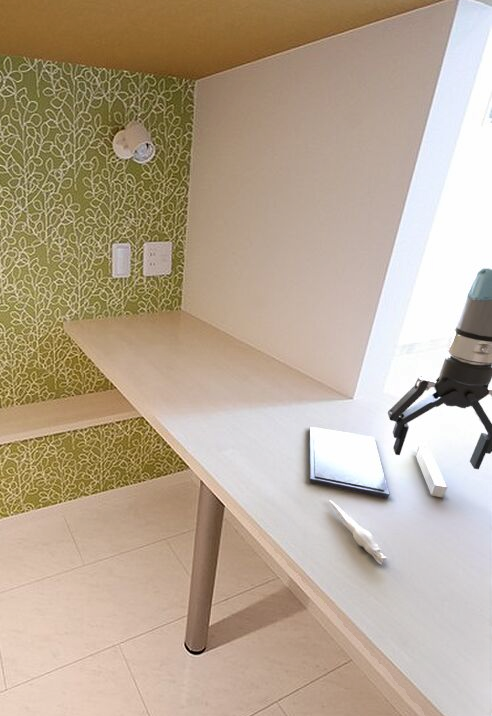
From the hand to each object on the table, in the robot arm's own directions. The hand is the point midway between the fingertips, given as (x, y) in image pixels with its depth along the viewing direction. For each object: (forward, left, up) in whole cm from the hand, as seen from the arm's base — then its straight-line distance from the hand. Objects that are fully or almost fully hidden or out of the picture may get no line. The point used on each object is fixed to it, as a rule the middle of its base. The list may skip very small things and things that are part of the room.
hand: (434, 458), depth 86 cm
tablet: (+16, 0, -4) cm, 16 cm away
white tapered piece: (+16, +23, -4) cm, 28 cm away
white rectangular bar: (0, 0, -4) cm, 4 cm away
